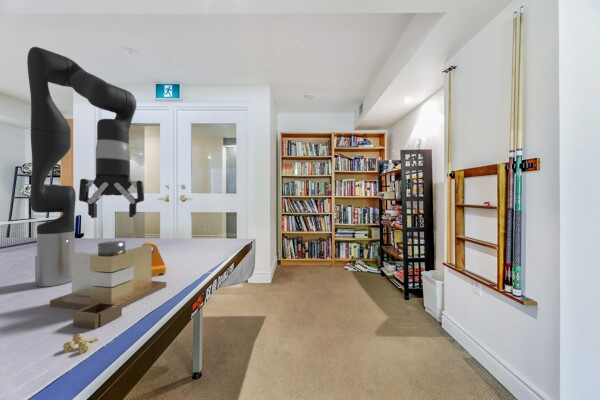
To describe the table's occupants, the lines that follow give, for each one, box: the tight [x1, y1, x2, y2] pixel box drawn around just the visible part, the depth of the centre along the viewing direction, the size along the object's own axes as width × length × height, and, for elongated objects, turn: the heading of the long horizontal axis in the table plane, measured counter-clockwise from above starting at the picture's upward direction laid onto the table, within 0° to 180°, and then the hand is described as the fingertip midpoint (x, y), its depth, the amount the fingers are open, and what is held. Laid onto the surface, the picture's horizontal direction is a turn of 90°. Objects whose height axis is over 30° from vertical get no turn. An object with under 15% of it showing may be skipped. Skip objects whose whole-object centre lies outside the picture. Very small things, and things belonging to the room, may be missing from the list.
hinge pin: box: [97, 240, 126, 256], centre depth 68 cm, size 6×6×14 cm
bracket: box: [141, 241, 167, 278], centre depth 94 cm, size 11×7×12 cm, turn 125°
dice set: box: [63, 333, 99, 355], centre depth 49 cm, size 5×5×2 cm
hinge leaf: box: [71, 251, 134, 294], centre depth 69 cm, size 17×7×11 cm, turn 79°
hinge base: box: [49, 245, 167, 330], centre depth 70 cm, size 24×26×14 cm
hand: (113, 217), depth 68 cm, fingers open, 8 cm apart
